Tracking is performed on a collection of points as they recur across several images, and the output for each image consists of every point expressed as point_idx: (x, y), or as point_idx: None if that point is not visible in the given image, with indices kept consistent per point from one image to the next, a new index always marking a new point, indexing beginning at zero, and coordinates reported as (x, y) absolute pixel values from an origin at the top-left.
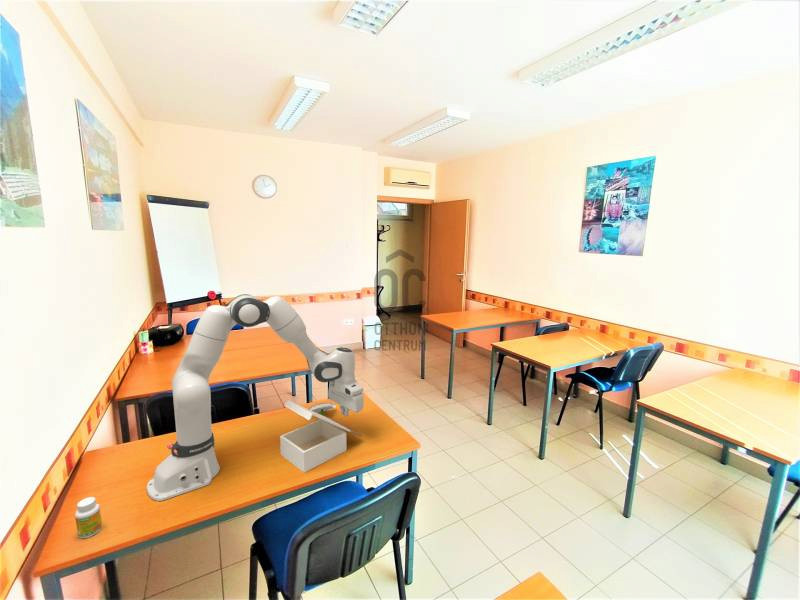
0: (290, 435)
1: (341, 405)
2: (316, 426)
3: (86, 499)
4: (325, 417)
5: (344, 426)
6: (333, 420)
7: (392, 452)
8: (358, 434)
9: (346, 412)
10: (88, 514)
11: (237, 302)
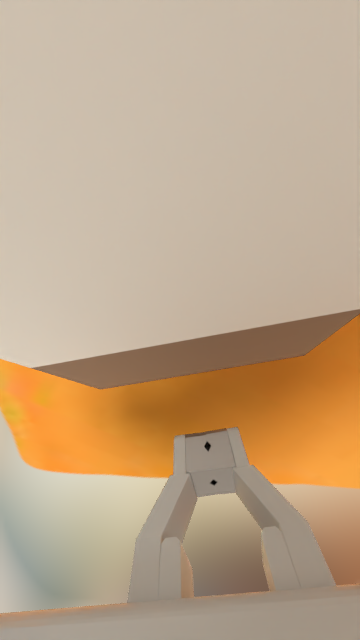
0: None
1: (270, 569)
2: None
3: None
4: (296, 258)
5: (198, 364)
6: (311, 345)
7: (3, 412)
8: (86, 383)
9: (175, 479)
10: None
11: None
